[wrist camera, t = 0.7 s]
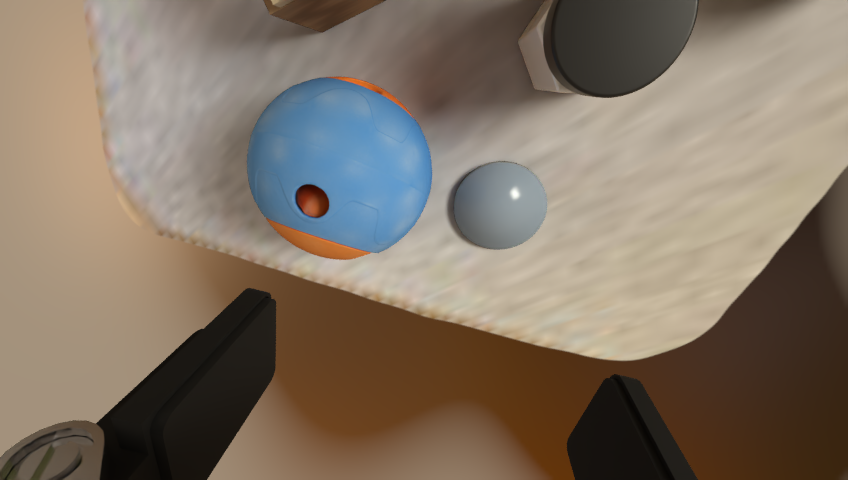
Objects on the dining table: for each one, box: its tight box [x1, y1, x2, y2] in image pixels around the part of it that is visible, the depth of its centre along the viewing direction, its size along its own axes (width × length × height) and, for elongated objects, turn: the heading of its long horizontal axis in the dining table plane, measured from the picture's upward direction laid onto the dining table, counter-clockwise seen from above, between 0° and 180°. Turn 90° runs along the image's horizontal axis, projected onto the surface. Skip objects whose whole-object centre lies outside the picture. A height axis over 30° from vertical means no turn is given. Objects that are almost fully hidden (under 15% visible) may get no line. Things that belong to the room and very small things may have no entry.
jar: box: [518, 0, 699, 98], centre depth 25 cm, size 9×8×12 cm
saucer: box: [454, 161, 547, 249], centre depth 37 cm, size 10×10×1 cm
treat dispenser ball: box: [247, 77, 432, 260], centre depth 30 cm, size 16×15×15 cm
